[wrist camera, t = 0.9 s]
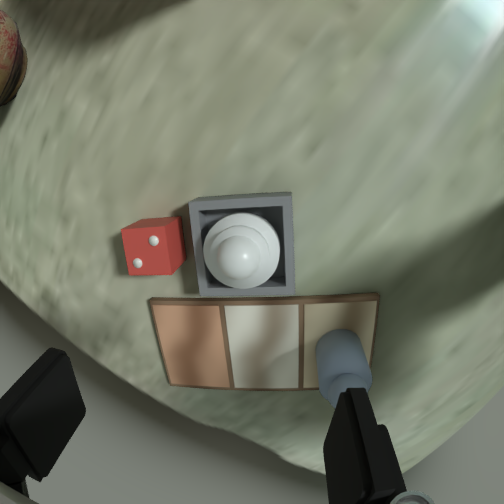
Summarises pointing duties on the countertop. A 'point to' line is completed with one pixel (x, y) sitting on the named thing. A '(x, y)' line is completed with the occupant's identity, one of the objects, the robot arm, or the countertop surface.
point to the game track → (256, 338)
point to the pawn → (341, 364)
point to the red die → (154, 246)
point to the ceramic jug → (10, 59)
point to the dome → (242, 250)
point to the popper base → (264, 204)
